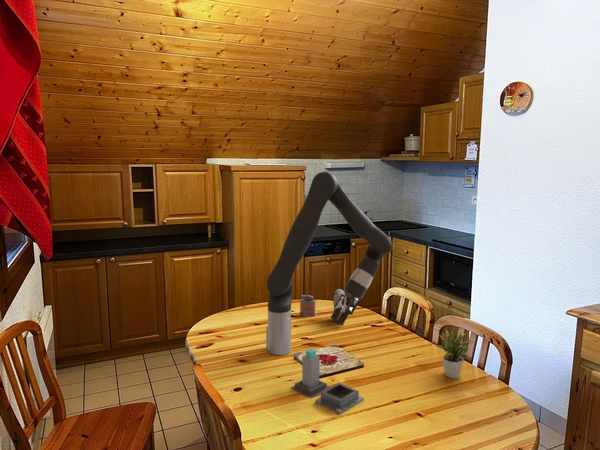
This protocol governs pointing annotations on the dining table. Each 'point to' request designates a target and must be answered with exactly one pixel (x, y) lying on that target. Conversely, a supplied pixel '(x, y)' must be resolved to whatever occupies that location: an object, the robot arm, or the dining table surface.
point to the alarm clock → (336, 297)
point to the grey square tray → (310, 392)
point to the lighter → (307, 306)
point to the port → (339, 398)
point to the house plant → (453, 354)
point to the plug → (310, 369)
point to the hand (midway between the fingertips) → (336, 321)
